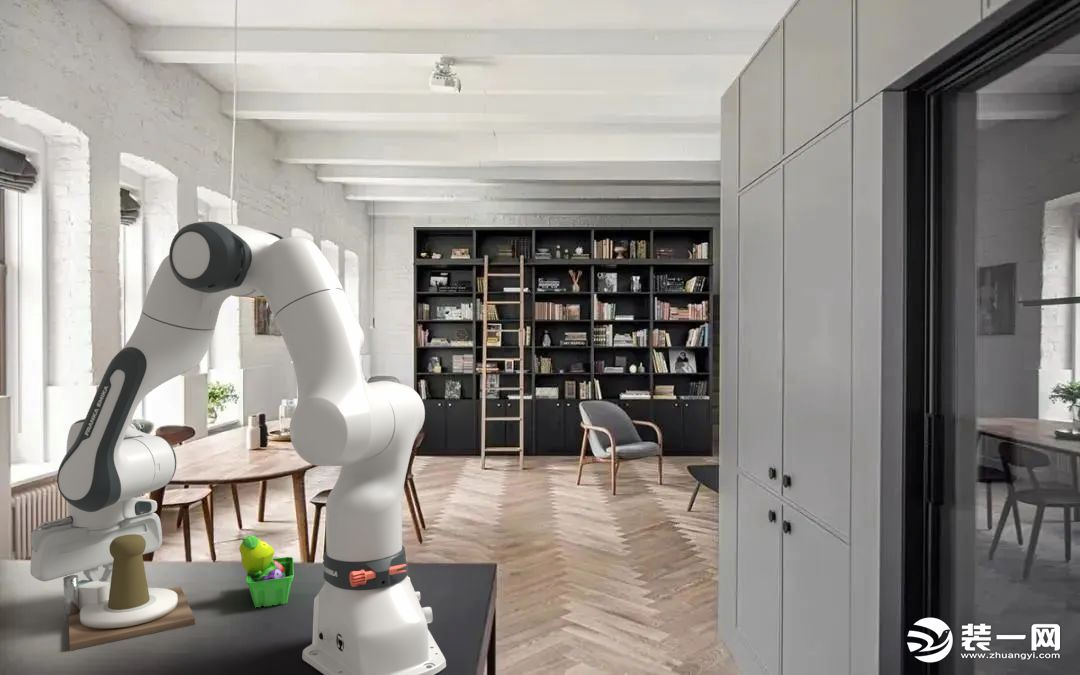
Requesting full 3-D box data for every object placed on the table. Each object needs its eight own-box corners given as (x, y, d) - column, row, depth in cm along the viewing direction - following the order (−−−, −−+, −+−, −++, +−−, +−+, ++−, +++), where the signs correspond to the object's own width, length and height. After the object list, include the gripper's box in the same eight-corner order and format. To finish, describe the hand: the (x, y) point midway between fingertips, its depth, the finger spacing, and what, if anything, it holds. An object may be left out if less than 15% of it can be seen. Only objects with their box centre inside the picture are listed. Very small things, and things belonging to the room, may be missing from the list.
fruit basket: (294, 605, 127) (293, 540, 127) (238, 613, 125) (237, 546, 124) (293, 583, 138) (292, 522, 138) (242, 589, 135) (240, 527, 135)
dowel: (79, 620, 122) (77, 577, 122) (64, 622, 121) (63, 580, 121) (78, 616, 124) (77, 574, 124) (64, 618, 123) (63, 576, 123)
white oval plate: (196, 598, 128) (195, 577, 127) (132, 632, 114) (132, 608, 114) (109, 589, 132) (108, 569, 132) (38, 621, 118) (37, 598, 118)
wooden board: (194, 624, 120) (194, 616, 120) (69, 650, 111) (69, 642, 111) (180, 591, 134) (180, 585, 134) (68, 612, 125) (68, 605, 125)
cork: (150, 605, 121) (148, 538, 121) (107, 612, 118) (105, 543, 118) (149, 593, 127) (148, 528, 126) (108, 599, 124) (106, 534, 123)
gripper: (39, 528, 117) (42, 615, 117) (165, 500, 134) (168, 576, 134) (21, 522, 120) (24, 607, 121) (146, 495, 137) (148, 570, 138)
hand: (101, 590), depth 128 cm, fingers closed
